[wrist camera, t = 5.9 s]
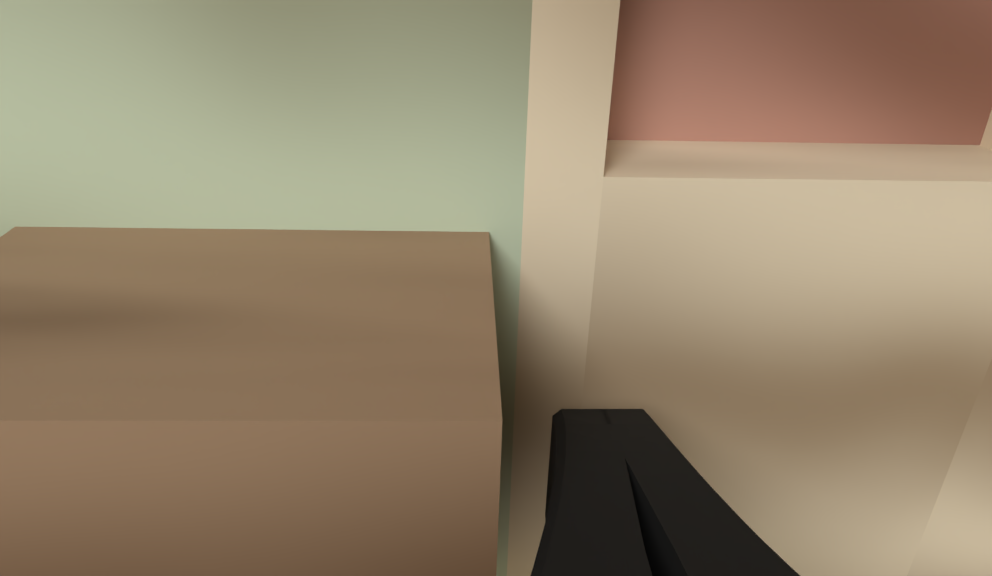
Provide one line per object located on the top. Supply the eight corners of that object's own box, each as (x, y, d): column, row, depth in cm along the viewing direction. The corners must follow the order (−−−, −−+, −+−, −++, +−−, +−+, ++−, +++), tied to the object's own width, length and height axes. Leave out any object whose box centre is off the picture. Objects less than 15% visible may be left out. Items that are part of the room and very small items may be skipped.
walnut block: (480, 562, 12) (485, 827, 9) (114, 566, 12) (-33, 839, 9) (489, 231, 10) (503, 421, 6) (15, 226, 9) (-260, 420, 6)
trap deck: (1160, 676, 18) (1238, 762, 16) (139, 696, 17) (100, 790, 15) (1766, -231, 10) (2064, -263, 8) (-168, -308, 8) (-336, -366, 7)
